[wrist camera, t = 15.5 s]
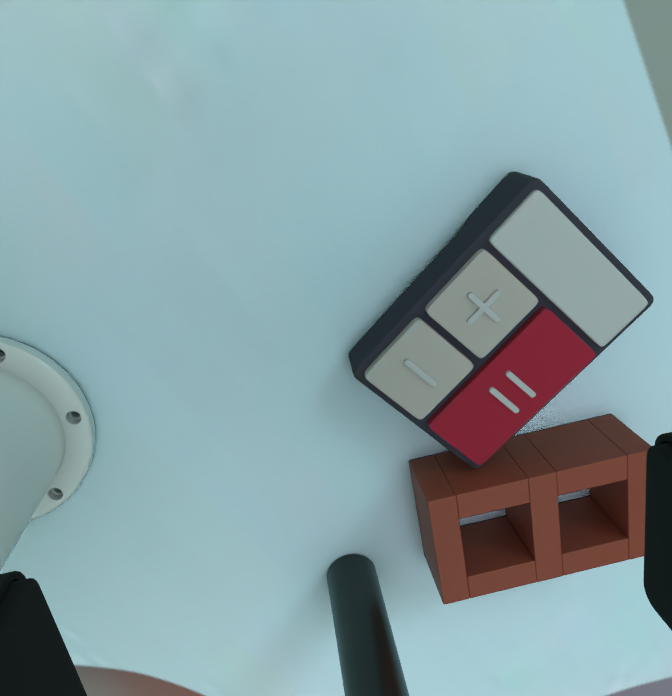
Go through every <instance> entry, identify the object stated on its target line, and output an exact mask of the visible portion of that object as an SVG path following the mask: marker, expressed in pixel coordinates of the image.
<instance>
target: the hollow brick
mask: <svg viewBox="0 0 672 696" xmlns="http://www.w3.org/2000/svg"><path fill="white" fill-rule="evenodd" d="M650 447H651V446H650V445H649V444H648V443H647V442H645V441H644V440H643V439H642V438H640V437H639V436H638V435H637V434H636V433H634V432H633V431H632V430H631V429H629V428H628V427H627V426H626V425H624V424H623V423H622V422H621V421H620V420H618V419H617V418H616V417H615V416H613V415H612V414H609V415H604V416H600V417H596V418H591V419H588V420H583V421H578V422H574V423H570V424H565V425H561V426H557V427H552V428H548V429H544V430H539V431H535V432H531V433H526V434H521V435H517V436H513V437H512V438H511V439H510V440H508V441H507V442H506V443H505V444H504V445H503V446H502V447H501V448H500V449H499V450H498V451H497V452H496V453H495V454H494V455H493V456H492V457H491V458H490V459H488V460H487V461H486V462H485V463H484V464H483V465H482V466H481V467H479V468H473V467H471V466H469V465H468V464H467V463H466V462H464V461H463V460H462V459H460V458H459V457H458V456H456V455H455V454H454V453H453V452H451V451H448V452H444V453H439V454H435V455H431V456H427V457H422V458H418V459H414V460H409V466H410V472H411V478H412V484H413V490H414V496H415V502H416V508H417V514H418V520H419V526H420V532H421V538H422V544H423V550H424V555H425V558H426V560H427V563H428V566H429V568H430V571H431V573H432V576H433V578H434V581H435V584H436V586H437V589H438V591H439V594H440V596H441V599H442V602H443V604H448V603H453V602H457V601H461V600H465V599H469V598H473V597H477V596H481V595H485V594H489V593H493V592H498V591H502V590H506V589H510V588H514V587H518V586H522V585H526V584H531V583H535V582H540V581H544V580H548V579H552V578H556V577H560V576H563V575H567V574H571V573H576V572H580V571H584V570H588V569H592V568H596V567H600V566H604V565H608V564H613V563H617V562H621V561H625V560H628V559H634V558H638V557H642V556H644V547H645V502H646V456H647V451H648V449H649V448H650ZM588 488H590V496H591V497H590V496H587V497H583V498H579V499H575V500H571V501H566V502H562V503H558V495H563V494H567V493H571V492H576V491H580V490H584V489H588ZM504 508H506V516H503V517H499V518H494V519H490V520H486V521H482V522H478V523H473V524H469V525H465V526H461V527H460V523H459V519H462V518H466V517H470V516H474V515H479V514H483V513H487V512H491V511H496V510H500V509H504Z"/></svg>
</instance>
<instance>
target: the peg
mask: <svg viewBox="0 0 672 696" xmlns="http://www.w3.org/2000/svg"><path fill="white" fill-rule="evenodd" d="M327 582H328V588H329V595H330V601H331V608H332V614H333V621H334V627H335V634H336V640H337V647H338V653H339V660H340V666H341V673H342V679H343V686H344V692H345V696H409V693H408V690H407V686H406V682H405V678H404V675H403V671H402V667H401V663H400V660H399V656H398V652H397V648H396V645H395V641H394V637H393V633H392V630H391V626H390V622H389V618H388V615H387V611H386V607H385V603H384V600H383V596H382V592H381V588H380V585H379V581H378V577H377V573H376V570H375V566H374V564H373V563H372V562H371V561H370V560H369V559H368V558H366V557H364V556H362V555H356V554H352V555H346V556H343V557H341V558H339V559H337V560H336V561H335V562H334V563H333V564H332V565H331V566H330V568H329V570H328V573H327Z"/></svg>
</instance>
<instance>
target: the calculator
mask: <svg viewBox="0 0 672 696" xmlns="http://www.w3.org/2000/svg"><path fill="white" fill-rule="evenodd" d="M652 303H653V296H652V295H651V293H650V292H649V291H648V290H647V289H646V288H645V287H644V286H643V285H642V284H641V283H640V282H639V281H638V280H637V279H636V278H635V277H634V276H633V275H632V274H631V273H630V272H629V271H628V270H627V269H626V267H625V266H624V265H623V264H622V263H621V262H620V261H619V260H618V259H617V258H616V257H615V256H614V255H613V254H612V253H611V252H610V251H609V250H608V249H607V248H606V247H605V246H604V245H603V244H602V243H601V242H600V241H599V240H598V239H597V238H596V236H595V235H594V234H593V233H592V232H591V231H590V230H589V229H588V228H587V227H586V226H585V225H584V224H583V223H582V222H581V221H580V220H579V219H578V218H577V217H576V216H575V215H574V214H573V213H572V212H571V211H570V210H569V209H568V208H567V207H566V205H565V204H564V203H563V202H562V201H561V200H560V199H559V198H558V197H557V196H556V195H555V194H554V193H553V192H552V191H551V190H550V189H549V188H548V187H547V186H546V185H545V184H544V183H543V182H542V181H541V180H540V179H537V178H535V177H531V176H528V175H525V174H521V173H518V172H511V173H509V174H508V175H507V176H506V177H505V178H504V179H503V180H502V182H501V183H500V184H499V185H498V186H497V187H496V188H495V189H494V190H493V191H492V192H491V194H490V195H489V196H488V197H487V198H486V199H485V200H484V201H483V202H482V203H481V204H480V206H479V207H478V208H477V209H476V210H475V211H474V212H473V213H472V214H471V215H470V217H469V218H468V220H467V221H466V223H465V225H464V226H463V228H462V229H461V231H460V232H459V233H458V234H457V236H456V237H455V238H454V239H453V240H452V241H451V242H450V243H449V244H448V245H447V246H446V248H445V249H444V250H443V251H442V252H441V253H440V254H439V255H438V256H437V257H436V258H435V259H434V261H433V262H432V263H431V264H430V265H429V266H428V267H427V268H426V269H425V270H424V271H423V273H422V274H421V275H420V276H419V277H418V278H417V279H416V280H415V281H414V282H413V283H412V285H411V286H410V287H409V288H408V289H407V290H406V291H405V292H404V293H403V294H402V295H401V296H400V298H399V299H398V300H397V301H396V302H395V303H394V304H393V305H392V306H391V307H390V308H389V310H388V311H387V312H386V313H385V314H384V315H383V316H382V317H381V318H380V319H379V320H378V321H377V323H376V324H375V325H374V326H373V327H372V328H371V329H370V330H369V331H368V332H367V333H366V335H365V336H364V337H363V338H362V339H361V340H360V341H359V342H358V343H357V344H356V345H355V347H354V348H353V349H352V350H351V351H350V353H349V360H350V363H351V367H352V371H353V374H354V376H355V378H356V379H358V380H359V381H360V382H361V383H363V384H364V385H365V386H367V387H368V388H369V389H370V390H372V391H373V392H374V393H376V394H377V395H378V396H380V397H381V398H382V399H383V400H385V401H386V402H387V403H389V404H390V405H391V406H393V407H394V408H395V409H397V410H398V411H399V412H400V413H402V414H403V415H404V416H406V417H407V418H408V419H410V420H411V421H412V422H413V423H415V424H416V425H417V426H419V427H420V428H421V429H423V430H424V431H425V432H426V433H428V434H429V435H430V436H432V437H433V438H434V439H436V440H437V441H438V442H440V443H441V444H442V445H443V446H445V447H446V448H447V449H449V450H450V451H451V452H453V453H454V454H455V455H456V456H458V457H459V458H460V459H462V460H463V461H464V462H466V463H467V464H468V465H469V466H471V467H473V468H479V467H481V466H482V465H483V464H484V463H485V462H486V461H487V460H488V459H490V458H491V457H492V456H493V455H494V454H495V453H496V452H497V451H498V450H499V449H500V448H501V447H502V446H503V445H504V444H505V443H506V442H507V441H508V440H510V439H511V438H512V437H513V436H514V435H515V434H516V433H517V432H518V431H519V430H520V429H521V428H522V427H523V426H524V425H525V424H526V423H527V422H529V421H530V420H531V419H532V418H533V417H534V416H535V415H536V414H537V413H538V412H539V411H540V410H541V409H542V408H543V407H544V406H545V405H546V404H547V403H549V402H550V401H551V400H552V399H553V398H554V397H555V396H556V395H557V394H558V393H559V392H560V391H561V390H562V389H563V388H564V387H565V386H566V385H568V384H569V383H570V382H571V381H572V380H573V379H574V378H575V377H576V376H577V375H578V374H579V373H580V372H581V371H582V370H583V369H584V368H585V367H586V366H588V365H589V364H590V363H591V362H592V361H593V360H594V359H595V358H596V357H597V356H598V355H599V354H600V353H601V352H602V351H603V350H604V349H605V348H607V347H608V346H609V345H610V344H611V343H612V342H613V341H614V340H615V339H616V338H617V337H618V336H619V335H620V334H621V333H622V332H623V331H624V330H625V329H627V328H628V327H629V326H630V325H631V324H632V323H633V322H634V321H635V320H636V319H637V318H638V317H639V316H640V315H641V314H642V313H643V312H644V311H646V310H647V309H648V308H649V307H650V306H651V304H652Z"/></svg>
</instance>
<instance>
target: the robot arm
mask: <svg viewBox="0 0 672 696" xmlns="http://www.w3.org/2000/svg"><path fill="white" fill-rule="evenodd" d="M0 349H1V350H3V352H4V353H5V354H3V353H1V352H0V571H1V569H2V567H3V565H4V564H5V562H6V560H7V558H8V557H9V555H10V553H11V552H12V550H13V548H14V546H15V545H16V543H17V541H18V539H19V538H20V536H21V534H22V533H23V531H24V529H25V527H26V526H27V524H28V522H29V521H30V520H33V519H36V518H39V517H41V516H43V515H45V514H47V513H49V512H51V511H52V510H54V509H56V508H57V507H59V506H60V505H61V504H62V503H64V502H65V501H66V500H67V499H69V498H70V496H71V495H72V494H73V493H74V492H75V490H76V489H77V488H78V487H79V486H80V484H81V482H82V481H83V479H84V477H85V475H86V473H87V471H88V469H89V466H90V464H91V461H92V458H93V456H94V449H95V441H96V435H95V424H94V419H93V416H92V413H91V409H90V406H89V404H88V402H87V400H86V398H85V396H84V395H83V393H82V391H81V389H80V387H79V386H78V385H77V384H76V383H75V381H74V380H73V379H72V378H71V377H70V375H69V374H68V373H67V372H66V371H65V370H64V369H63V368H61V367H60V366H59V365H58V364H57V363H55V362H54V361H53V360H52V359H51V358H49V357H47V356H46V355H44V354H42V353H41V352H39V351H37V350H36V349H34V348H32V347H30V346H27V345H25V344H22V343H20V342H17V341H15V340H12V339H9V338H4V337H0ZM74 411H75V412H77V413H79V414H80V415H79V414H75V413H74ZM644 588H645V592H646V594H647V597H648V599H649V601H650V603H651V605H652V606H653V608H654V609H655V610H656V612H657V613H658V614H659V615H660V617H661V618H662V619H663V620H664V622H665V623H666V624H667V625H668V626H669V628H670V629H671V630H672V432H670V433H665V434H661V435H660V436H658V437H657V439H656V441H655V446H651V447H650V448H649V449H648V451H647V456H646V502H645V547H644ZM0 696H87V694H86V692H85V690H84V688H83V685H82V683H81V681H80V678H79V676H78V674H77V671H76V669H75V667H74V664H73V662H72V660H71V657H70V655H69V653H68V651H67V648H66V646H65V644H64V641H63V639H62V637H61V634H60V632H59V630H58V628H57V625H56V623H55V621H54V618H53V616H52V614H51V611H50V609H49V607H48V605H47V602H46V600H45V598H44V595H43V593H42V591H41V588H40V586H39V584H38V583H37V581H36V580H35V579H32V578H29V579H26V578H25V576H24V575H23V574H22V573H21V572H18V571H13V572H8V573H3V574H0Z"/></svg>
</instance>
